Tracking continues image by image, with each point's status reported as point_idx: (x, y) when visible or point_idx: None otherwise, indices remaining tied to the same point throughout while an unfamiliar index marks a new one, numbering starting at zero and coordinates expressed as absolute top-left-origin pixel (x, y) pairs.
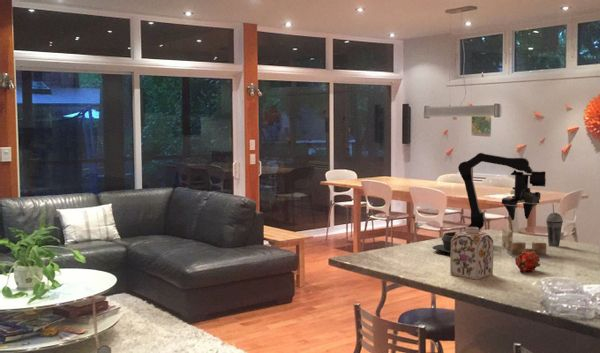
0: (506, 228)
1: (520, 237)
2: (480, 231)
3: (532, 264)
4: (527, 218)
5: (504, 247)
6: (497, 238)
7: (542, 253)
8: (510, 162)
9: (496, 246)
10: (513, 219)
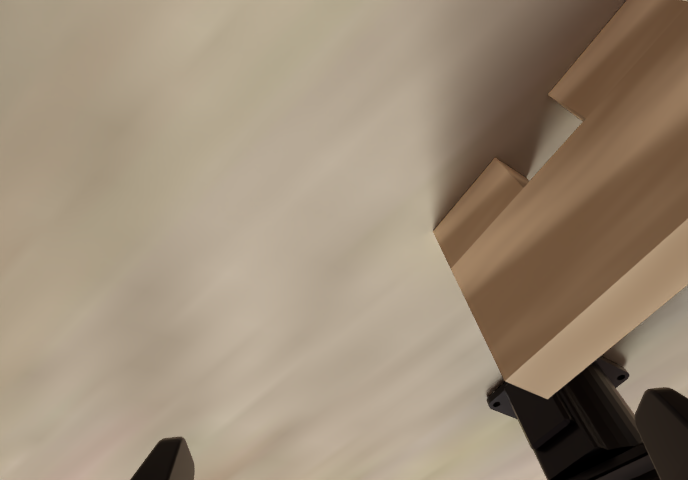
0: (592, 327)
1: (16, 458)
2: (578, 460)
3: None
4: (176, 441)
5: (527, 180)
6: (224, 471)
7: None
8: None
9: None
10: (677, 395)
